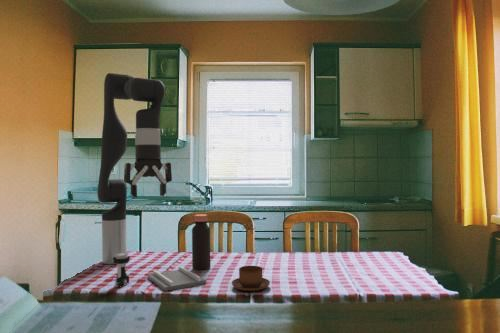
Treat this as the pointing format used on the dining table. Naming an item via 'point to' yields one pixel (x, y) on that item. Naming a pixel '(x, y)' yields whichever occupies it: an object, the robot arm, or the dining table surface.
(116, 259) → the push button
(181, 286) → the rail plate
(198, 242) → the bottle
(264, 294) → the dining table surface
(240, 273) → the cup and saucer
